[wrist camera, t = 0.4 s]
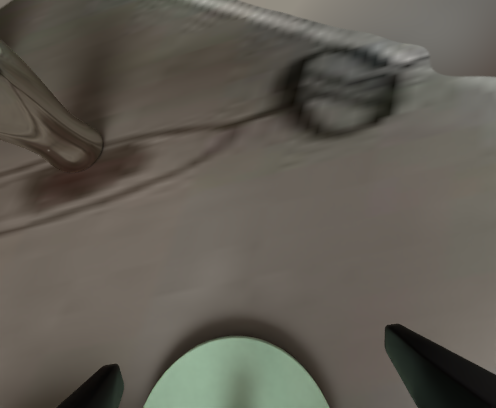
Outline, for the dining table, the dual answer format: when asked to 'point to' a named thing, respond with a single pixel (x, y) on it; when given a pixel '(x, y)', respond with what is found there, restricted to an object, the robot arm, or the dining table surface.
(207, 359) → the lid
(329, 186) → the dining table surface
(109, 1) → the dining table surface
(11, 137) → the beer glass
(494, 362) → the dining table surface
